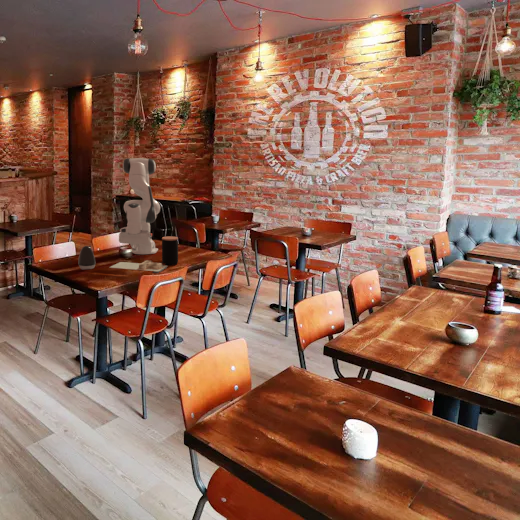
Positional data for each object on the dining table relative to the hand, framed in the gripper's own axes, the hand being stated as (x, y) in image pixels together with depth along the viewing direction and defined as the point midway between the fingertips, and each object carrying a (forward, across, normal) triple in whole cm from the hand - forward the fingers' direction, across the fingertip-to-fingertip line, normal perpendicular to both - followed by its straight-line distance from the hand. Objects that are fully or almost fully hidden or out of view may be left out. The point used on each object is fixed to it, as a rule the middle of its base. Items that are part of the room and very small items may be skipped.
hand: (135, 250), depth 298 cm
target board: (+11, -3, +1) cm, 12 cm away
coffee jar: (+12, -17, -17) cm, 27 cm away
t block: (+10, -12, +1) cm, 15 cm away
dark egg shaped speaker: (+11, +26, +14) cm, 31 cm away
